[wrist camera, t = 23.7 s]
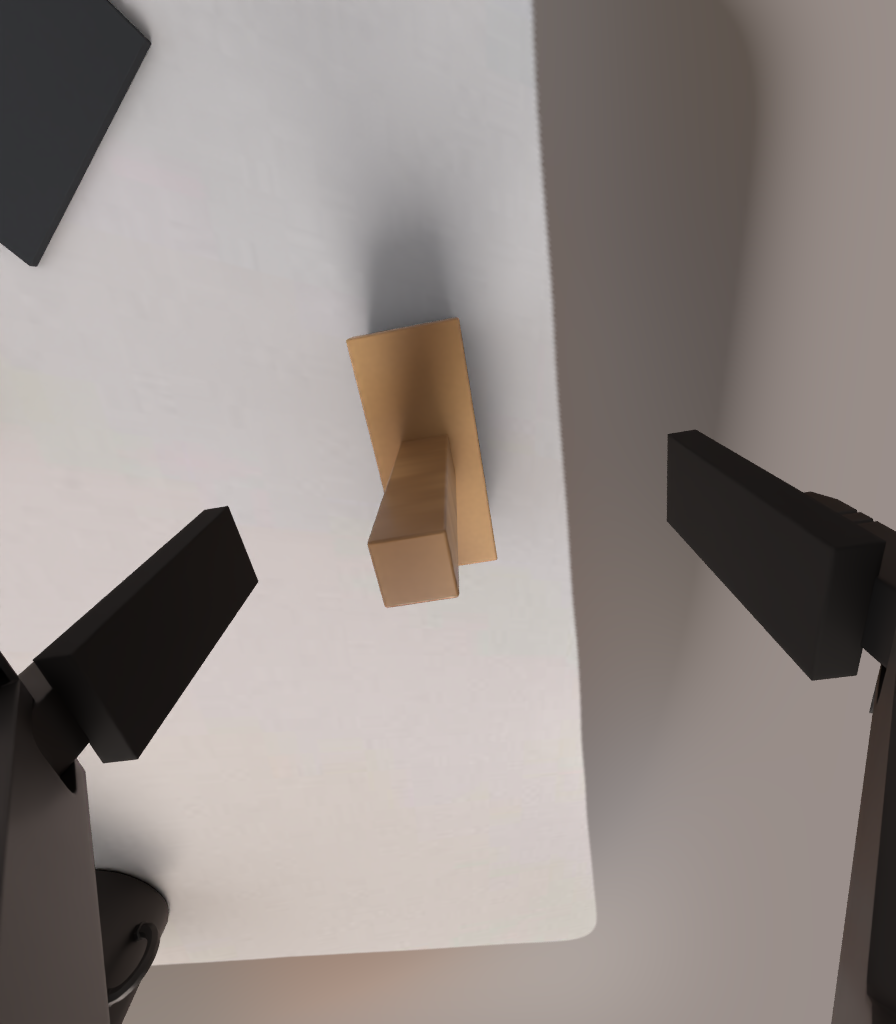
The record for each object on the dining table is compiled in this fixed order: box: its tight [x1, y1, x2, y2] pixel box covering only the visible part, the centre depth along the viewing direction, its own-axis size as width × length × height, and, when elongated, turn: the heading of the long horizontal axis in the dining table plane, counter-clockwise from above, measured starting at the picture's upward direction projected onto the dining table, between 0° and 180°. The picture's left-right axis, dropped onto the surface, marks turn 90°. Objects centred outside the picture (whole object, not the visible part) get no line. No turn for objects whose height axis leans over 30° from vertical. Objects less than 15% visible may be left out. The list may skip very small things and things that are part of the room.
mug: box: [95, 871, 169, 1024], centre depth 36 cm, size 9×12×9 cm
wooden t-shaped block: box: [346, 317, 497, 608], centre depth 18 cm, size 4×11×13 cm, turn 10°
